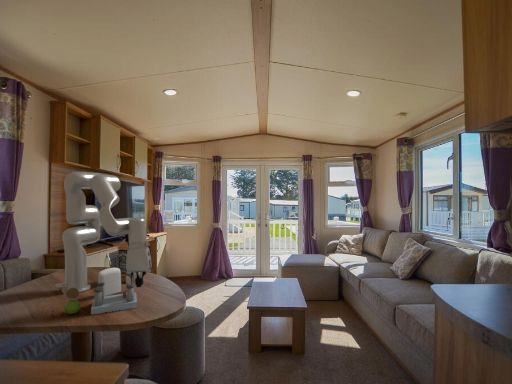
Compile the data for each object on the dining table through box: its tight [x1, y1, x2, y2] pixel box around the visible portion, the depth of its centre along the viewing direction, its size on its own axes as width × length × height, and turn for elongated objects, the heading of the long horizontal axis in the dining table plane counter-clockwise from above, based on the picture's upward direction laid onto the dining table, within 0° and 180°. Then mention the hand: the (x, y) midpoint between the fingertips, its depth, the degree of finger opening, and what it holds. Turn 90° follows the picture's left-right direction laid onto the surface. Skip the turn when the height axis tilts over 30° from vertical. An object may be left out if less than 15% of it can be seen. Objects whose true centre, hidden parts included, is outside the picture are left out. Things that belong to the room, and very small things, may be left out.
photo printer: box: [97, 267, 122, 296], centre depth 145 cm, size 10×4×12 cm, turn 140°
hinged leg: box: [125, 275, 134, 293], centre depth 134 cm, size 8×3×8 cm, turn 25°
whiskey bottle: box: [117, 234, 140, 284], centre depth 169 cm, size 10×10×32 cm
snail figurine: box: [61, 284, 81, 315], centre depth 122 cm, size 5×6×12 cm
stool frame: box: [90, 282, 138, 316], centre depth 130 cm, size 17×14×9 cm
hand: (139, 286), depth 136 cm, fingers closed
